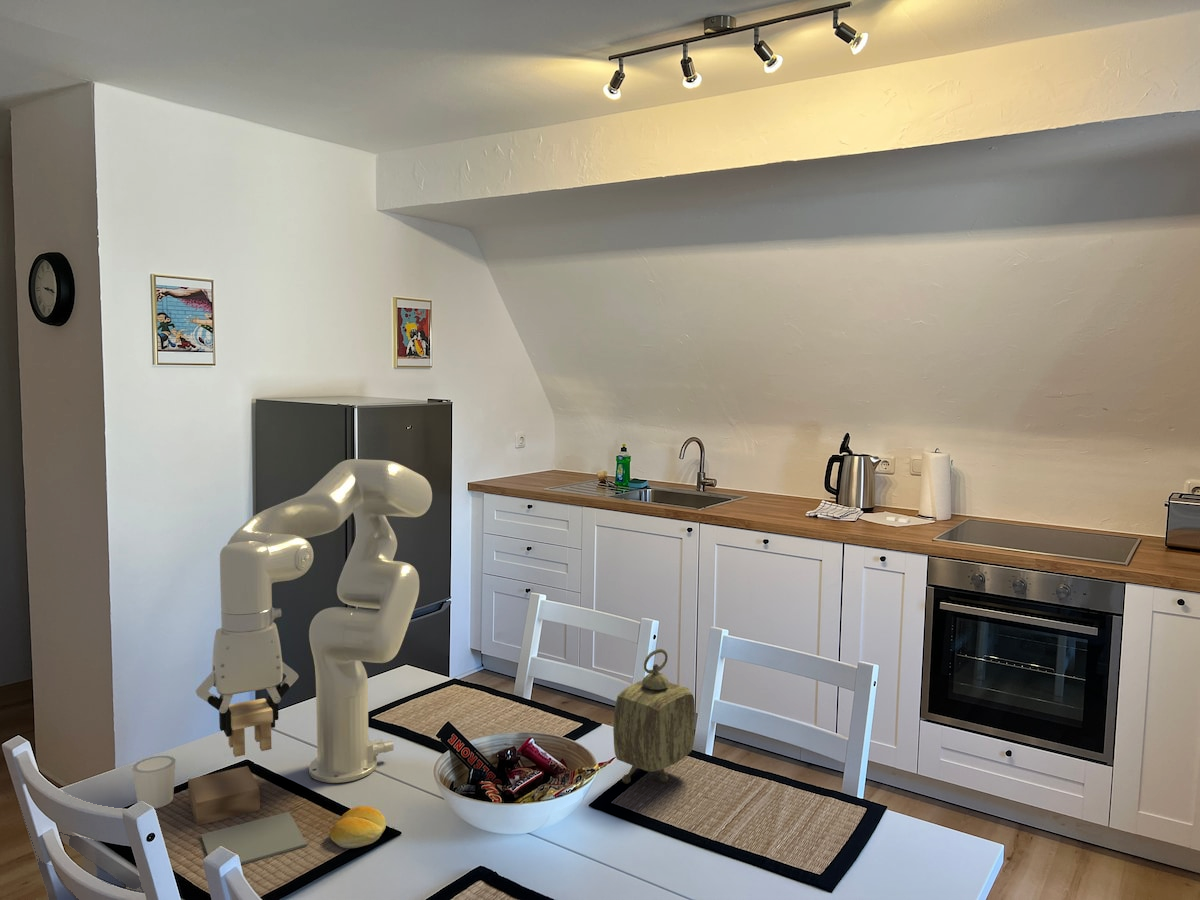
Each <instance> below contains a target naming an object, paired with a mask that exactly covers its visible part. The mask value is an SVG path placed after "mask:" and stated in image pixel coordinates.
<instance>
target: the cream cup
mask: <svg viewBox="0 0 1200 900" xmlns="http://www.w3.org/2000/svg"><path fill="white" fill-rule="evenodd" d="M131 770H132V776H133V783H134V788H135V797H136V802H138V801H144V802H146V803H148V804H150V805H152V806H153V807H154V808H155V809H158V808H163V807H164V806H165V807H166V806H167V805H169V804H171V802H172V801H173V799H174V790H175V789H174V788H175V774H176V773H175V772H176V758H175V757H174V756H170V755H156V756H150V757H146V758H144V759H141V760H139V761H137V762H135V764H133V766H132V768H131Z"/></svg>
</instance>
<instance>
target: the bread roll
mask: <svg viewBox="0 0 1200 900" xmlns="http://www.w3.org/2000/svg"><path fill="white" fill-rule="evenodd" d="M386 826H387V823H386V818H385V816H384V815H383V814H382V812H381V811H380V810H378V809H377V808H374V807H372V806H367V805H359V806H355V807H352V808H351V809H349V810H348V811H346V812H344V813H343V814H342V815H341V817H340V819H339V820H338V821H337V822H335V824H333V826H332V827H331V828H330V832H329V838H330V839H331V841H332V842H333V843H335V844H336V845H338V846H339V847H340V848H344V849H357V848H361V847H364V846H365V847H366V846H370V845H371V844H373V843H375V842H376V841H378V840H379V839H380V838H381V836H382V834H383V833H384V831H385V830H386V828H387V827H386Z"/></svg>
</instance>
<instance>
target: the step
mask: <svg viewBox="0 0 1200 900" xmlns="http://www.w3.org/2000/svg"><path fill="white" fill-rule="evenodd" d="M187 780H188V781H187V782H188V783H187V784H188V786H187V787H188V788H187V790H188V802H190V803H189V806H190V805H191V806H190V808H192V809H191V811H192V814H193V817H194V819H195V822H196V826H197V825H199V826H202V824H203V825H207V824H210V823H211V824H212V823H215V822H217V821H222V820H226V819H230V818H234V817H238V816H242V815H246V814H250V813H254V812H258V811H260V810H261V801H260V800H261V798H260V787H259V785H258V783H257V781H256V779H255V777H254V776H253V773H252V771H251V770H250V768H249V766H248V765H245V766H241V767H237V768H231V769H227V770H223V771H220V772H214V773H211V774H206V775H205V774H204V775H201V776H197V777H193V778H189V779H187Z"/></svg>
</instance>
